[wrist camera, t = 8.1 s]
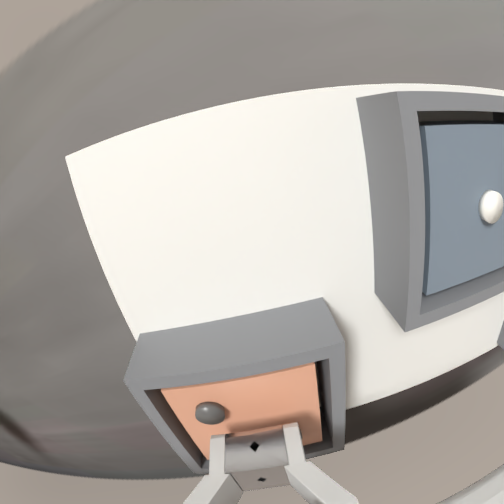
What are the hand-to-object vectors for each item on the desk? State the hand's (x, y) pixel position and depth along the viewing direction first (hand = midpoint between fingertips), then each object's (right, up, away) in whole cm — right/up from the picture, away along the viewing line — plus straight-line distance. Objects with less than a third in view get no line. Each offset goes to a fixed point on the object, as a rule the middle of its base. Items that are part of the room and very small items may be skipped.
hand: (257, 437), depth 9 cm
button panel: (+7, +7, +4) cm, 11 cm away
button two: (0, +1, +3) cm, 3 cm away
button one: (+7, +9, 0) cm, 11 cm away
